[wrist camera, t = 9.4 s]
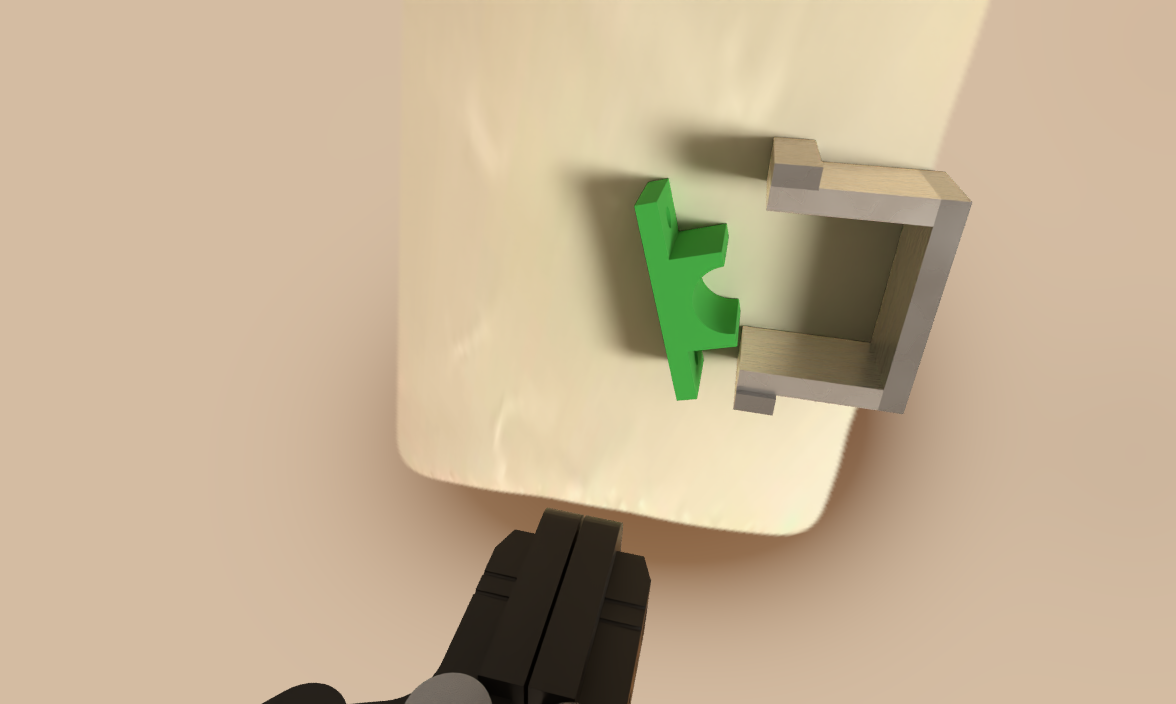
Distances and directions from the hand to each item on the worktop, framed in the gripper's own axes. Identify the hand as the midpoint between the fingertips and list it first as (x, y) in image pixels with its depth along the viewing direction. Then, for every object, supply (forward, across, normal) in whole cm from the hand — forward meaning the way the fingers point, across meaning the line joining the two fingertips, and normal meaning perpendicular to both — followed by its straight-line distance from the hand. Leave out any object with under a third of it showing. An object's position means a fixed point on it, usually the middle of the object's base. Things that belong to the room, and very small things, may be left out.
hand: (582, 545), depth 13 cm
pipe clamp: (+26, -1, +6) cm, 27 cm away
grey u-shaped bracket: (+26, -8, +4) cm, 27 cm away
